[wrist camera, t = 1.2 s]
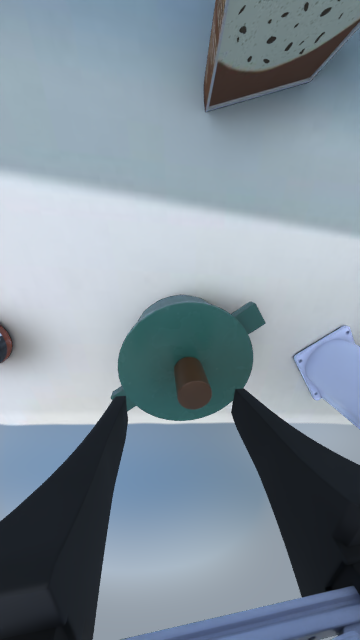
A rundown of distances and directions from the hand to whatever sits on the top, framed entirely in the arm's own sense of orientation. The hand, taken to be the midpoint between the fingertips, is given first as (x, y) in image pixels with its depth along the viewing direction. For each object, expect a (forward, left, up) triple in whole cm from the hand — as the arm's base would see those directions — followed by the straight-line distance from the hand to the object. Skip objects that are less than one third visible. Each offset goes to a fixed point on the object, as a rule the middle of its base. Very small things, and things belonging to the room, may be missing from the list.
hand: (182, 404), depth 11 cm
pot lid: (-1, -1, -5) cm, 5 cm away
